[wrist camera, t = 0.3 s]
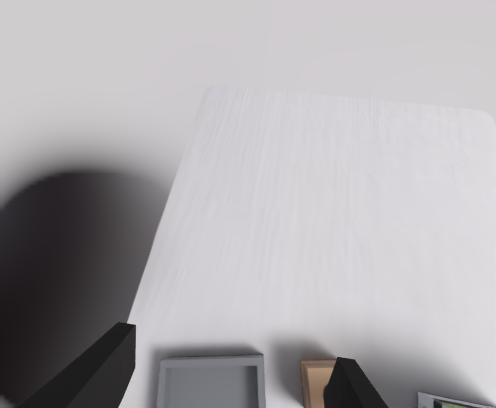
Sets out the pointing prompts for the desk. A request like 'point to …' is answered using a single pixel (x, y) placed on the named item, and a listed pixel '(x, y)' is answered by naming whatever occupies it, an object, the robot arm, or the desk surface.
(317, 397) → the block
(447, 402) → the tea box
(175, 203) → the desk surface
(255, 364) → the tray
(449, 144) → the desk surface
